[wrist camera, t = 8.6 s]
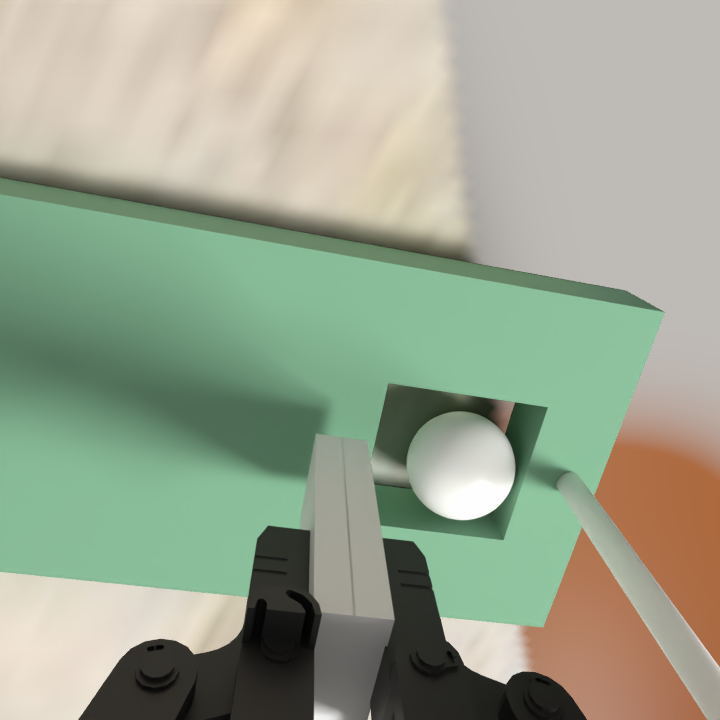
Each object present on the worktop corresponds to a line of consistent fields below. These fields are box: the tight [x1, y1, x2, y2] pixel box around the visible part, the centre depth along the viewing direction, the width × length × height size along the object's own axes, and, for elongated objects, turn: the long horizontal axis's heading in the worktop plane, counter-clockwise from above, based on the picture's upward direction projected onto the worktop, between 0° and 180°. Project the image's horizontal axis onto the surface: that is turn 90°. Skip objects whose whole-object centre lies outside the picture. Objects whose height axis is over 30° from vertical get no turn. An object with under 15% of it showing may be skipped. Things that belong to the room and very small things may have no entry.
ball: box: [407, 411, 515, 520], centre depth 20 cm, size 4×4×4 cm
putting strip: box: [0, 178, 720, 720], centre depth 13 cm, size 12×26×14 cm, turn 79°
